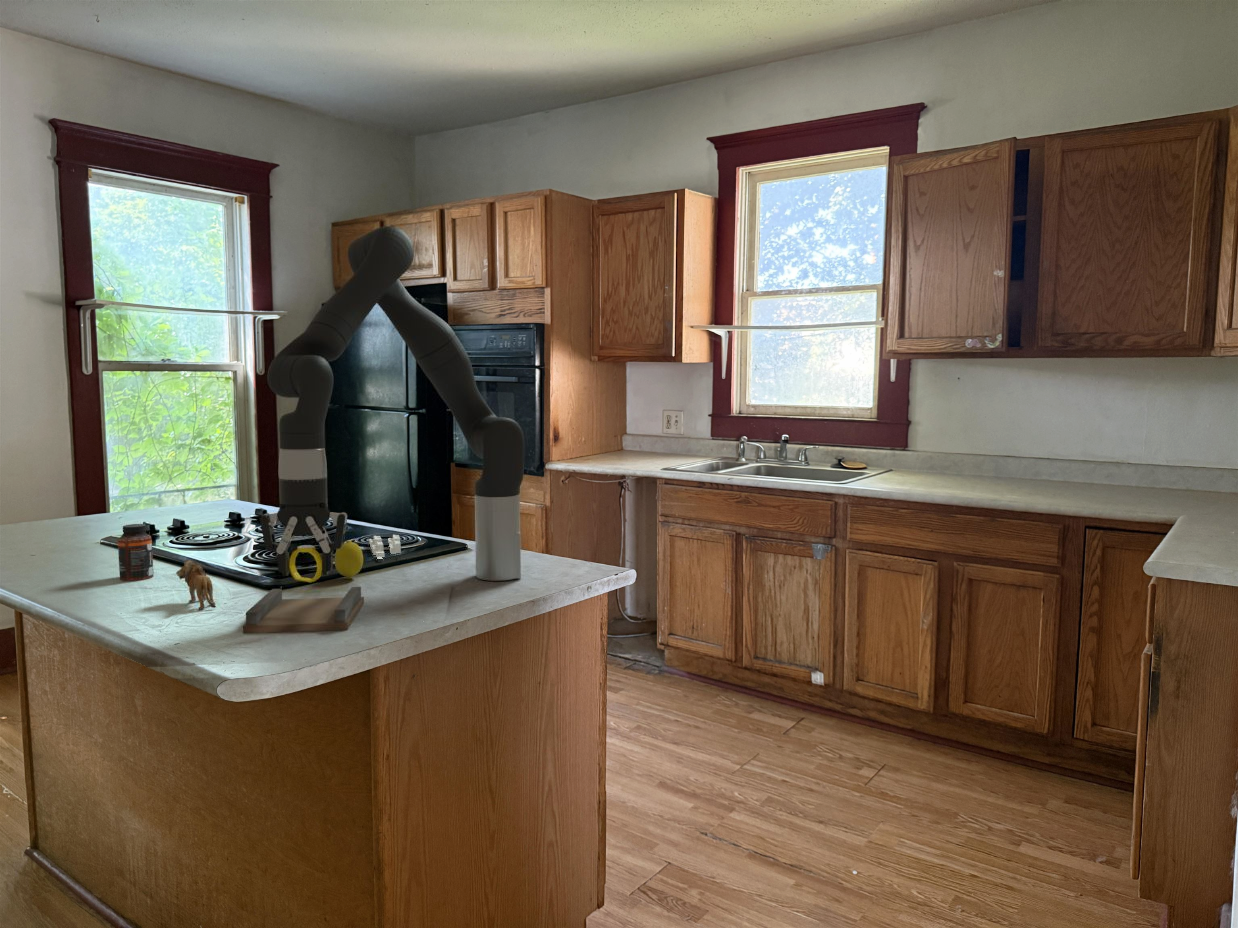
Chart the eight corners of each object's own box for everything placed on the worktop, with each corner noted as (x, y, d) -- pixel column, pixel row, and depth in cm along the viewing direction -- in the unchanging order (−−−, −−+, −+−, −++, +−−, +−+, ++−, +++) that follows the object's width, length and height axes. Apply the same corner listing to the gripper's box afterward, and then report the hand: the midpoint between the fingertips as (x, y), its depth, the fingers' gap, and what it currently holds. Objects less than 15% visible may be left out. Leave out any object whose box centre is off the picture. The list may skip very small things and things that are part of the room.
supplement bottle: (160, 579, 171) (158, 523, 170) (133, 585, 166) (130, 528, 165) (140, 576, 174) (138, 521, 173) (113, 582, 169) (110, 526, 168)
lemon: (355, 582, 169) (354, 543, 168) (329, 581, 170) (328, 542, 169) (368, 576, 174) (367, 538, 173) (343, 575, 175) (343, 537, 175)
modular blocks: (369, 552, 203) (368, 535, 203) (398, 550, 205) (398, 534, 205) (376, 568, 185) (376, 550, 184) (408, 566, 187) (408, 548, 187)
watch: (285, 581, 142) (284, 546, 142) (296, 578, 145) (295, 543, 144) (316, 584, 140) (315, 548, 140) (326, 580, 143) (325, 545, 143)
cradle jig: (364, 603, 153) (363, 585, 152) (347, 629, 136) (347, 610, 136) (271, 606, 150) (270, 588, 150) (242, 633, 134) (242, 613, 133)
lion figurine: (175, 600, 154) (173, 561, 153) (199, 596, 157) (197, 557, 157) (203, 612, 146) (201, 570, 146) (228, 607, 150) (226, 566, 149)
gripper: (351, 472, 146) (353, 568, 147) (264, 473, 144) (267, 570, 145) (343, 477, 138) (345, 578, 140) (251, 478, 136) (254, 580, 138)
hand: (305, 574), depth 143 cm, fingers closed on watch, 6 cm apart
